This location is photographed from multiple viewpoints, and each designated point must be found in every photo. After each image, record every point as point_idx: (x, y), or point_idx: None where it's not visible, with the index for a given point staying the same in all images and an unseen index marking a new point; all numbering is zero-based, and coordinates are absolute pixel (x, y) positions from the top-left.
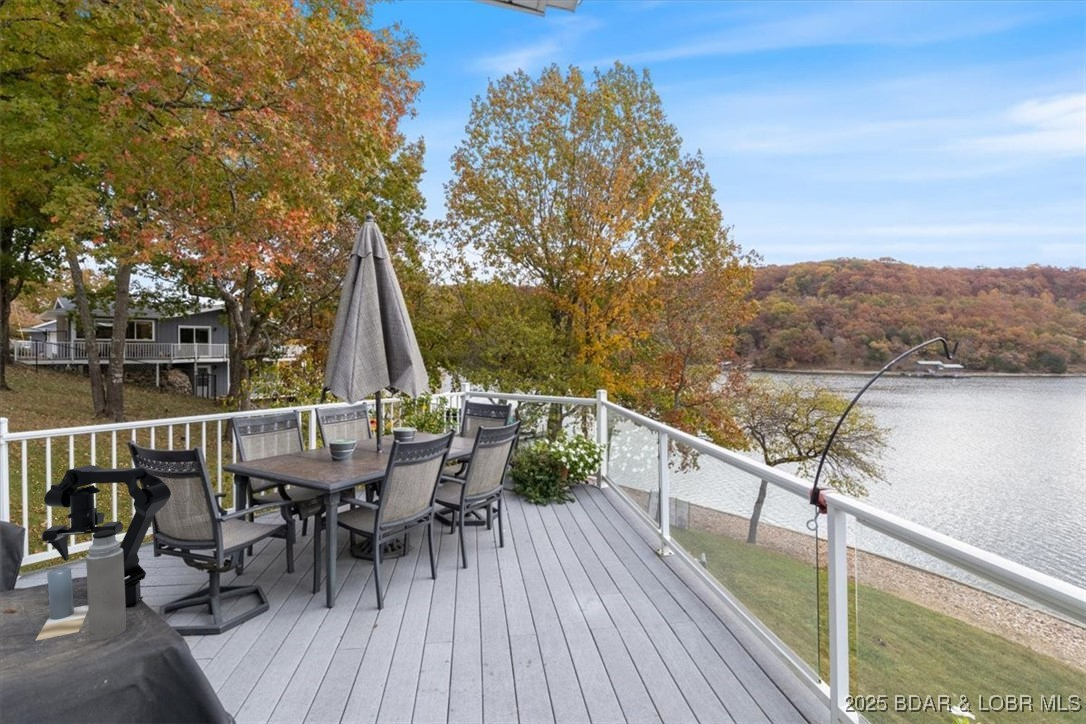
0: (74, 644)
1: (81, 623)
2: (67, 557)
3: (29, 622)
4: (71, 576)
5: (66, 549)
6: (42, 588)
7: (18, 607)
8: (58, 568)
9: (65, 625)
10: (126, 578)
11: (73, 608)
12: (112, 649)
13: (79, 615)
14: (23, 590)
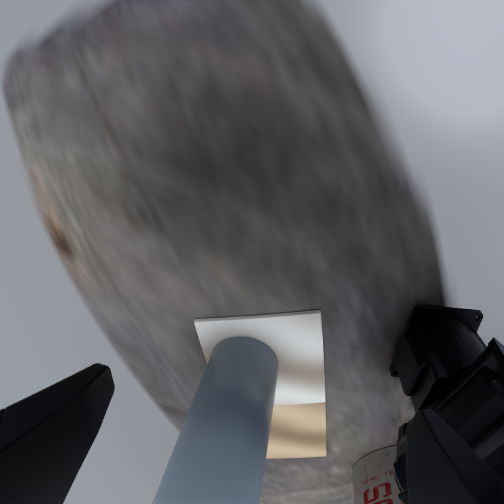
0: (327, 478)
1: (323, 428)
2: (99, 389)
3: (159, 356)
4: (259, 490)
5: (49, 447)
6: (61, 49)
7: (60, 213)
8: (174, 501)
9: (283, 425)
10: (476, 371)
11: (276, 374)
12: None
13: (304, 386)
14: (22, 63)
